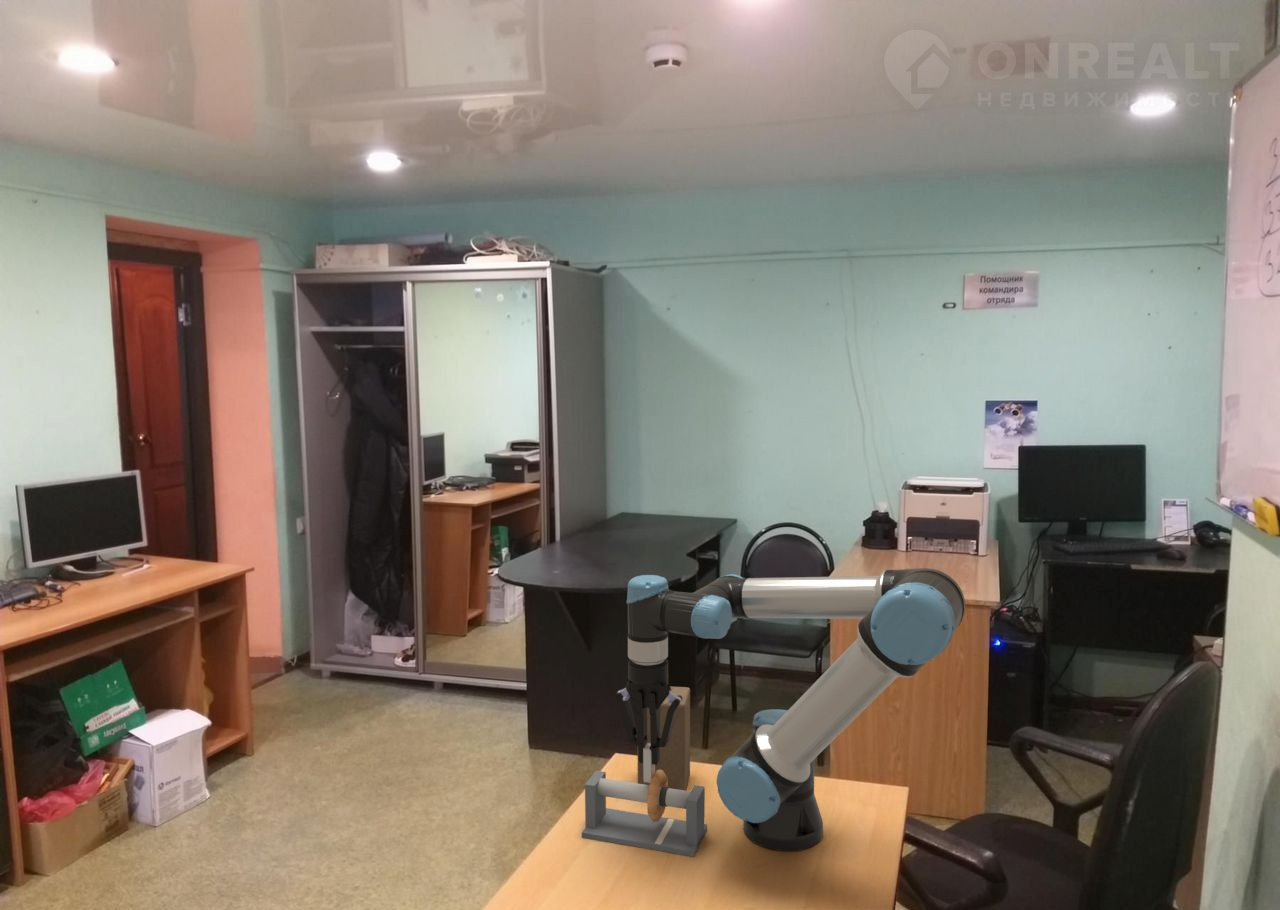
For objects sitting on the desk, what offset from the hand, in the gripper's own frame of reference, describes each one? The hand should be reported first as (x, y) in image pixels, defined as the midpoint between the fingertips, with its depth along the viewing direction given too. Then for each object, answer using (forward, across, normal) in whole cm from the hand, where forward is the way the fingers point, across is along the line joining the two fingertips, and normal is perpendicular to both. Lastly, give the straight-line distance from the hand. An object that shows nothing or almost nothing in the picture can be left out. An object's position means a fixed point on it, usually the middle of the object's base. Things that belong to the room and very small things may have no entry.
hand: (649, 779), depth 170 cm
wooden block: (+11, +3, -20) cm, 23 cm away
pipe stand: (+11, +1, 0) cm, 11 cm away
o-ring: (+8, -2, 0) cm, 8 cm away
